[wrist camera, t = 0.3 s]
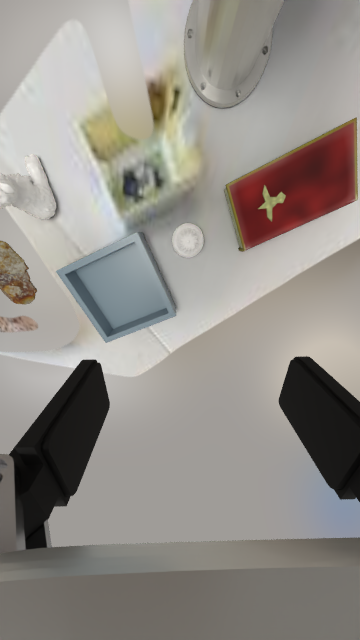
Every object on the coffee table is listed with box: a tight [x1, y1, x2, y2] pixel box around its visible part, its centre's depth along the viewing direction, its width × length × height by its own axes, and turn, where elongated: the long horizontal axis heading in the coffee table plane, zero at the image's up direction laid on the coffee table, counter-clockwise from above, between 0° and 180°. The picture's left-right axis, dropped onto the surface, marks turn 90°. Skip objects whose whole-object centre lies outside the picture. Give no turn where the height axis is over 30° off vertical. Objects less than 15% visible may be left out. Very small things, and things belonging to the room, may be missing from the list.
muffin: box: [172, 223, 204, 258], centre depth 35 cm, size 6×6×7 cm
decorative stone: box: [0, 241, 37, 304], centre depth 39 cm, size 10×4×15 cm
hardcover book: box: [224, 117, 358, 252], centre depth 34 cm, size 12×21×4 cm, turn 114°
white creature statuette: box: [0, 154, 56, 220], centre depth 29 cm, size 10×9×12 cm
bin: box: [56, 232, 176, 343], centre depth 40 cm, size 18×18×5 cm
